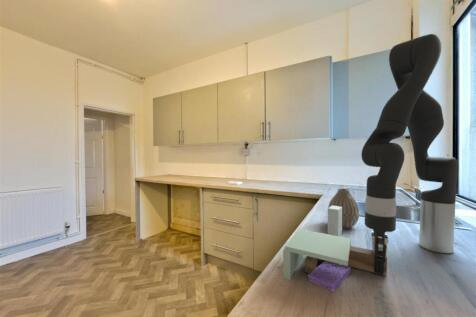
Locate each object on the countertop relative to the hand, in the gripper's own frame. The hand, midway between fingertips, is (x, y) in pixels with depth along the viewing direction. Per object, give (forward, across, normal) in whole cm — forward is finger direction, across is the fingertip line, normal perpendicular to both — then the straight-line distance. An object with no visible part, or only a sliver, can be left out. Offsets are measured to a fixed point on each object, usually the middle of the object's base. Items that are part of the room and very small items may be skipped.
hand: (378, 269), depth 63 cm
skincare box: (+1, +22, +14) cm, 26 cm away
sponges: (+1, -10, +12) cm, 15 cm away
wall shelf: (+1, -10, +14) cm, 17 cm away
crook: (0, -5, +8) cm, 10 cm away
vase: (+1, +36, +12) cm, 38 cm away
